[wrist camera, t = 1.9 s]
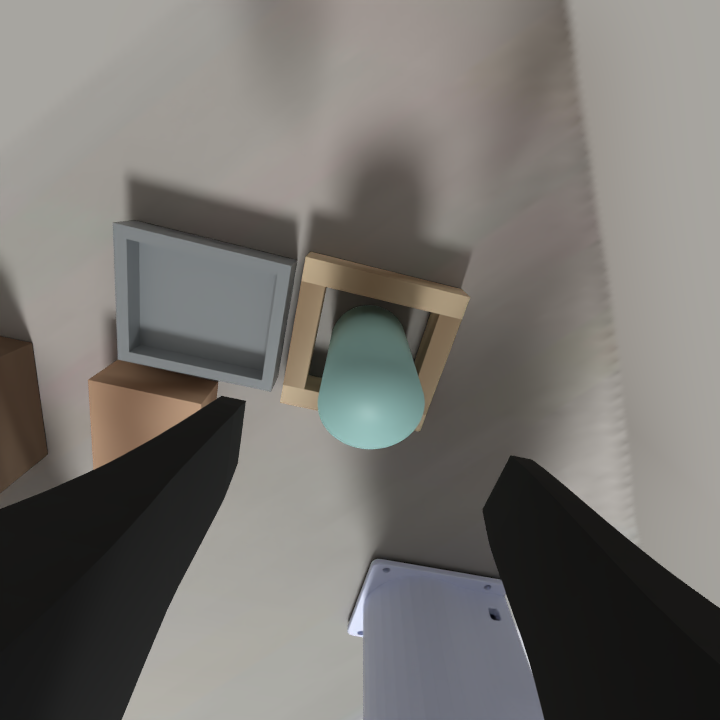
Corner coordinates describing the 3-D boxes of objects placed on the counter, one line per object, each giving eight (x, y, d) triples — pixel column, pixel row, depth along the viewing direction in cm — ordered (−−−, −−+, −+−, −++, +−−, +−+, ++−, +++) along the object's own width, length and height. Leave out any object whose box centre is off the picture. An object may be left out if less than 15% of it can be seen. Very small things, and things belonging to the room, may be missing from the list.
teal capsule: (414, 314, 17) (439, 370, 12) (393, 380, 19) (407, 457, 13) (340, 297, 17) (329, 346, 11) (324, 365, 18) (308, 438, 13)
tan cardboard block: (220, 379, 19) (201, 404, 17) (209, 478, 22) (191, 512, 20) (121, 356, 18) (87, 379, 16) (123, 462, 21) (94, 494, 19)
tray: (297, 260, 16) (291, 266, 15) (277, 377, 18) (271, 391, 17) (134, 220, 15) (112, 222, 14) (136, 346, 18) (117, 359, 16)
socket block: (461, 289, 17) (470, 297, 15) (415, 415, 19) (419, 431, 18) (310, 251, 16) (305, 256, 15) (286, 387, 19) (280, 402, 17)
